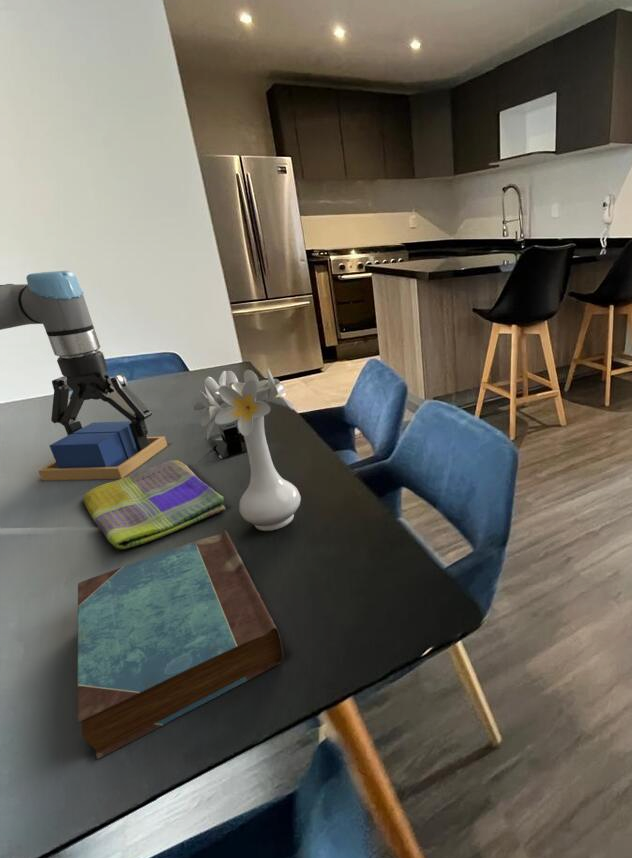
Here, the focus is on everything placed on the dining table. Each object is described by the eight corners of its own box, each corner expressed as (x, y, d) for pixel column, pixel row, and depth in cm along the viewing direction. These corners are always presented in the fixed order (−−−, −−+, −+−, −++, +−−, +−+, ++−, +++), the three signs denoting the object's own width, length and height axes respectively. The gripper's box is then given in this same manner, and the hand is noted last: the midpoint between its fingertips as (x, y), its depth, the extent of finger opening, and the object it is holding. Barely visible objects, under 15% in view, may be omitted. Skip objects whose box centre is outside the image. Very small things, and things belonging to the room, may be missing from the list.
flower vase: (279, 486, 90) (250, 353, 80) (336, 522, 78) (309, 370, 68) (207, 517, 81) (164, 372, 72) (257, 563, 69) (214, 396, 60)
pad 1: (62, 477, 97) (49, 445, 95) (82, 464, 102) (71, 433, 100) (109, 476, 97) (97, 443, 94) (128, 463, 102) (117, 432, 99)
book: (286, 661, 53) (277, 626, 51) (93, 762, 44) (73, 724, 42) (235, 558, 71) (227, 528, 69) (89, 615, 62) (75, 583, 60)
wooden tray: (43, 483, 97) (37, 470, 96) (98, 449, 111) (94, 438, 110) (122, 481, 96) (118, 468, 94) (168, 447, 109) (164, 436, 108)
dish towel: (112, 559, 72) (106, 544, 71) (83, 502, 89) (77, 488, 88) (231, 510, 83) (227, 496, 82) (185, 467, 100) (181, 455, 99)
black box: (257, 449, 106) (252, 429, 104) (221, 460, 102) (216, 439, 100) (241, 432, 115) (236, 414, 113) (208, 441, 111) (203, 422, 110)
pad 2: (84, 463, 103) (72, 432, 100) (103, 451, 108) (92, 422, 105) (129, 462, 102) (118, 431, 99) (146, 450, 107) (136, 420, 105)
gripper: (151, 346, 99) (179, 441, 107) (36, 351, 101) (72, 445, 109) (126, 355, 92) (158, 457, 100) (3, 361, 94) (45, 460, 102)
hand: (114, 451), depth 105 cm, fingers open, 13 cm apart
